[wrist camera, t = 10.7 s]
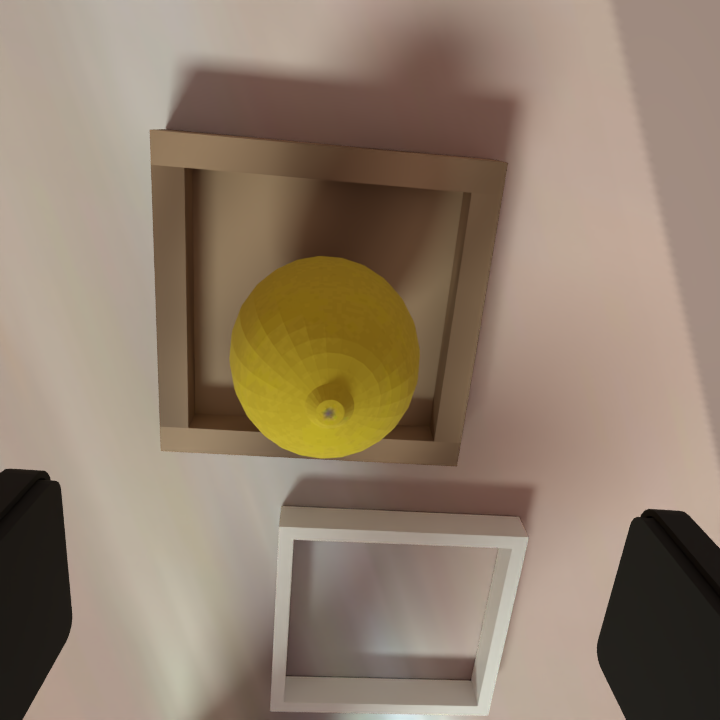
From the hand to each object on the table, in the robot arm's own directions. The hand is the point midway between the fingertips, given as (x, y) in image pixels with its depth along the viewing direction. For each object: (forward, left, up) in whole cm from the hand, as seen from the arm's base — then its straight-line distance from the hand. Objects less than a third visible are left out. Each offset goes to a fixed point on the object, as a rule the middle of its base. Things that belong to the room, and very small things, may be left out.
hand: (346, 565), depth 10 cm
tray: (+1, -1, -14) cm, 13 cm away
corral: (-3, +13, -14) cm, 19 cm away
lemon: (+1, 0, -13) cm, 13 cm away
